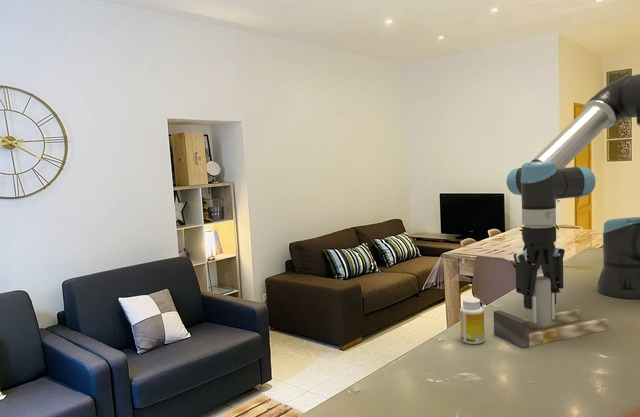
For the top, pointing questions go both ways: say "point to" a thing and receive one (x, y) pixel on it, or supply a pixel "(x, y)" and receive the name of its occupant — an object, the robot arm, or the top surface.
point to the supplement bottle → (472, 321)
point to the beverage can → (542, 302)
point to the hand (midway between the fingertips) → (540, 319)
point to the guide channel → (520, 336)
